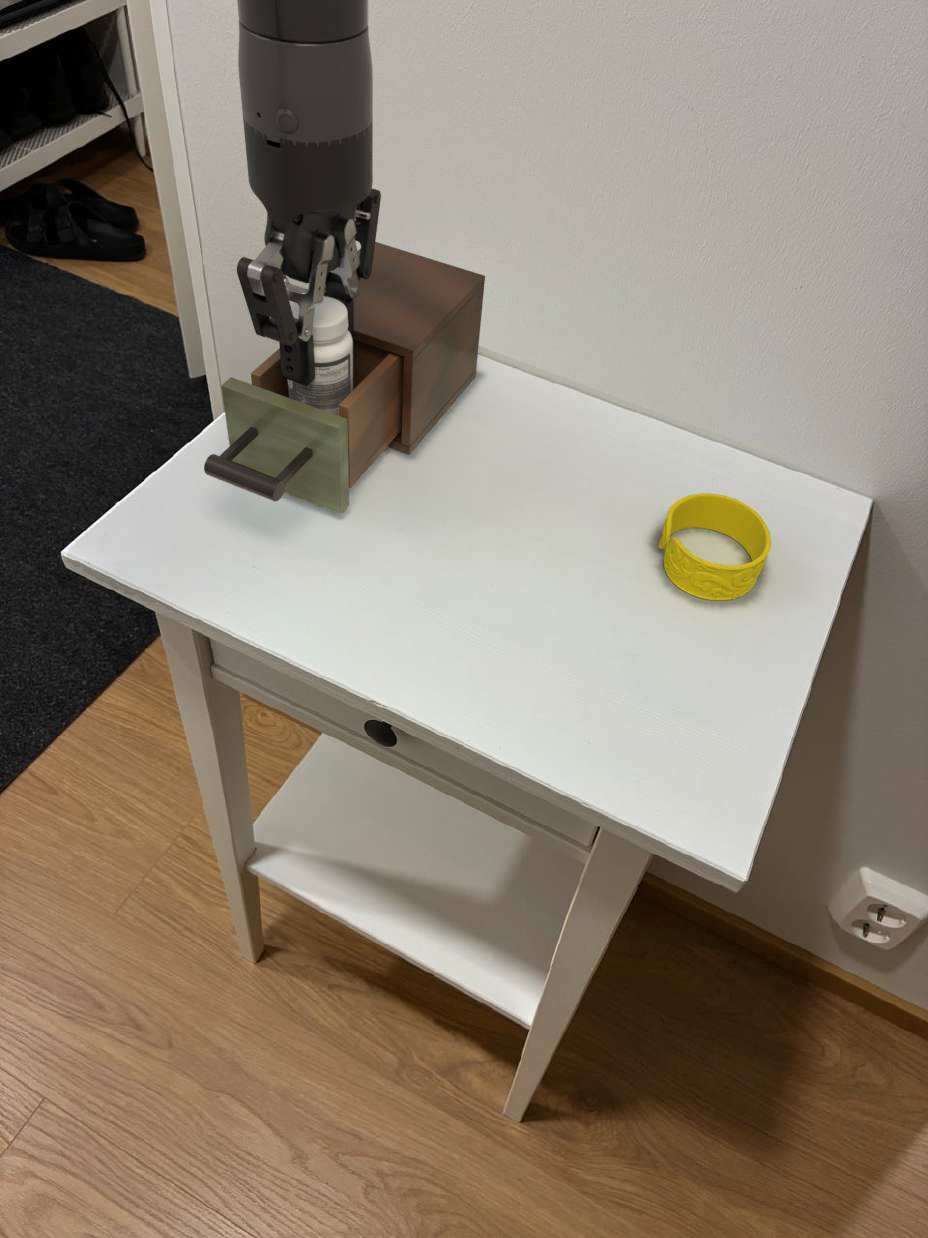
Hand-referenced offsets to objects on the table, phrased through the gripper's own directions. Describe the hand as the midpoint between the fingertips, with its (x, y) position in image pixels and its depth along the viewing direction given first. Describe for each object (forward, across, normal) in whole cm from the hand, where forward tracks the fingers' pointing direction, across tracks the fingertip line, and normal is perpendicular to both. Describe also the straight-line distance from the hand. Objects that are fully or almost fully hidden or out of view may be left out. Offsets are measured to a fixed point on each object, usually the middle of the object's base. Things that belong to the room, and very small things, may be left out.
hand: (319, 360), depth 69 cm
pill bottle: (+5, 0, 0) cm, 5 cm away
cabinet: (+9, -11, 0) cm, 14 cm away
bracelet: (+9, -5, +30) cm, 32 cm away
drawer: (+8, +2, 0) cm, 9 cm away
